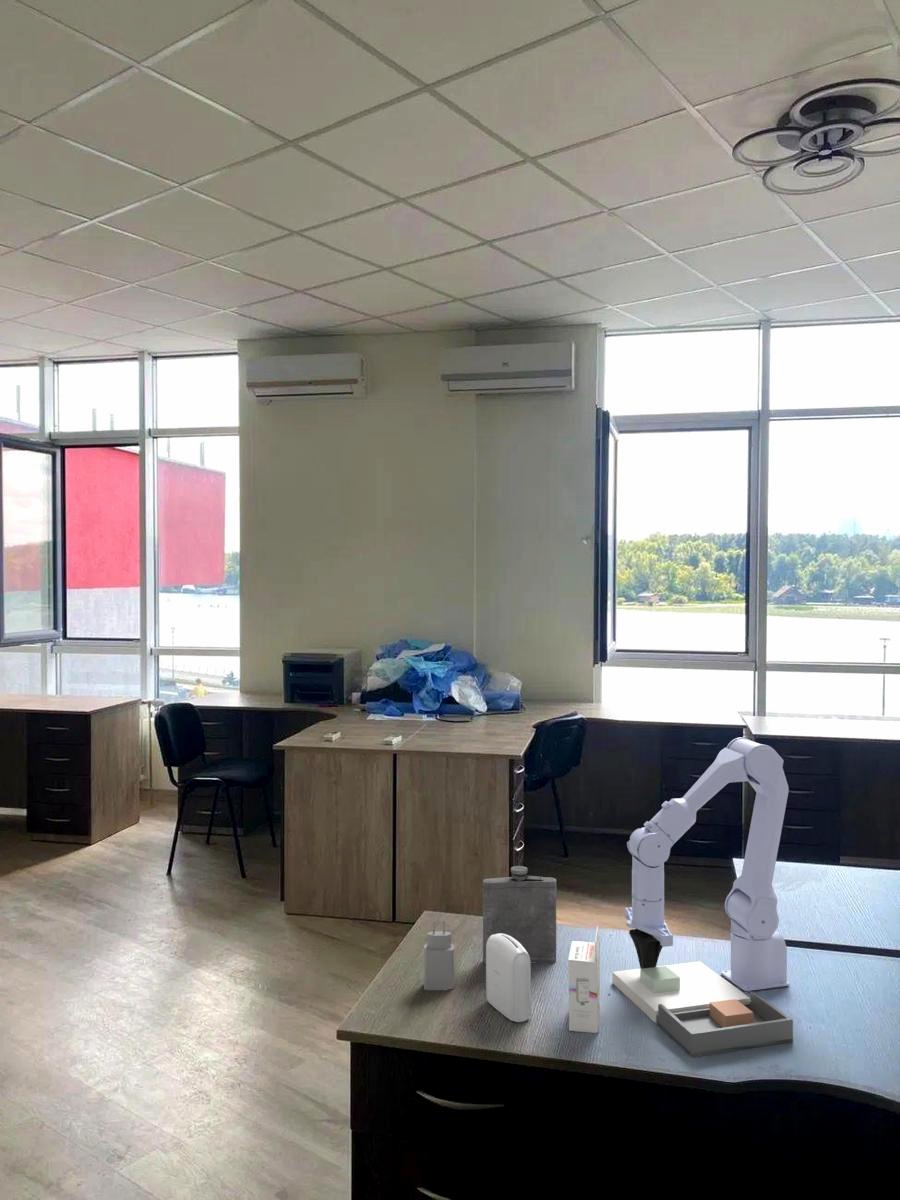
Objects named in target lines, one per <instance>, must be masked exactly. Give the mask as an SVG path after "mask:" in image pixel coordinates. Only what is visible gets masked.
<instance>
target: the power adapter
mask: <svg viewBox="0 0 900 1200" xmlns="http://www.w3.org/2000/svg"><path fill="white" fill-rule="evenodd" d="M442 924H443V925H442V926H443V928H442V929H443V931H441V930H440V931H438V930H437V931H436V922H435V919H433V921H432V927H433V928H432V931H429V932H427V933H426V943H425V944H424V945H423V990H424V991H446V990H445V989H453V988H454V989H455V944H453V943H452V933H451V932H450V931H446V920H445V919H443V923H442ZM454 989H453V990H454Z"/></svg>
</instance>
